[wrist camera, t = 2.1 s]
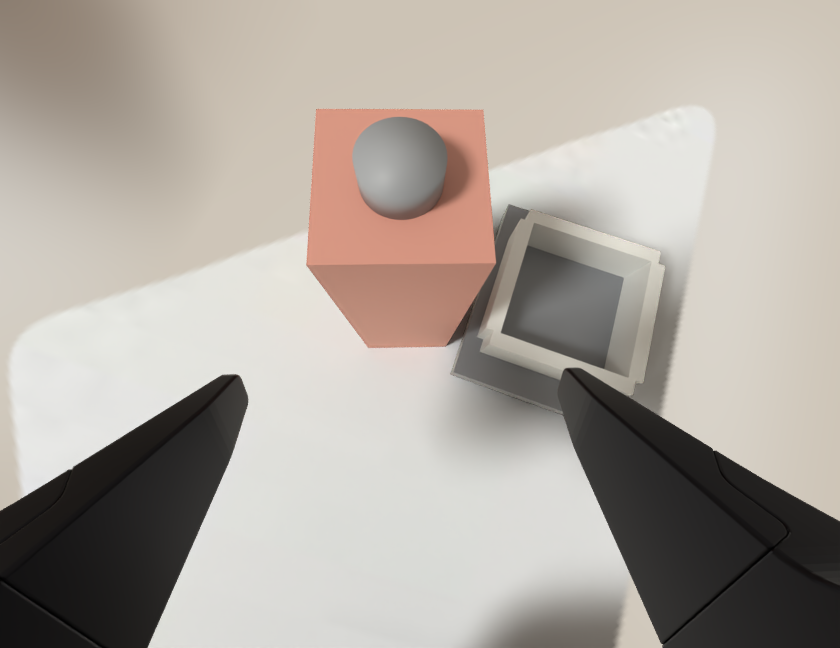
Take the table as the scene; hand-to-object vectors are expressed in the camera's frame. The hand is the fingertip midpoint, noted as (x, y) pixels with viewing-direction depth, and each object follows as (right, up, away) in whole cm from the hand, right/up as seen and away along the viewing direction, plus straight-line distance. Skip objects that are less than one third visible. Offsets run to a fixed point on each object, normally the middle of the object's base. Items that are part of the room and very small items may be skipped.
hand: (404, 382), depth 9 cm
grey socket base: (+9, +2, +13) cm, 16 cm away
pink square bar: (0, +3, +13) cm, 13 cm away
